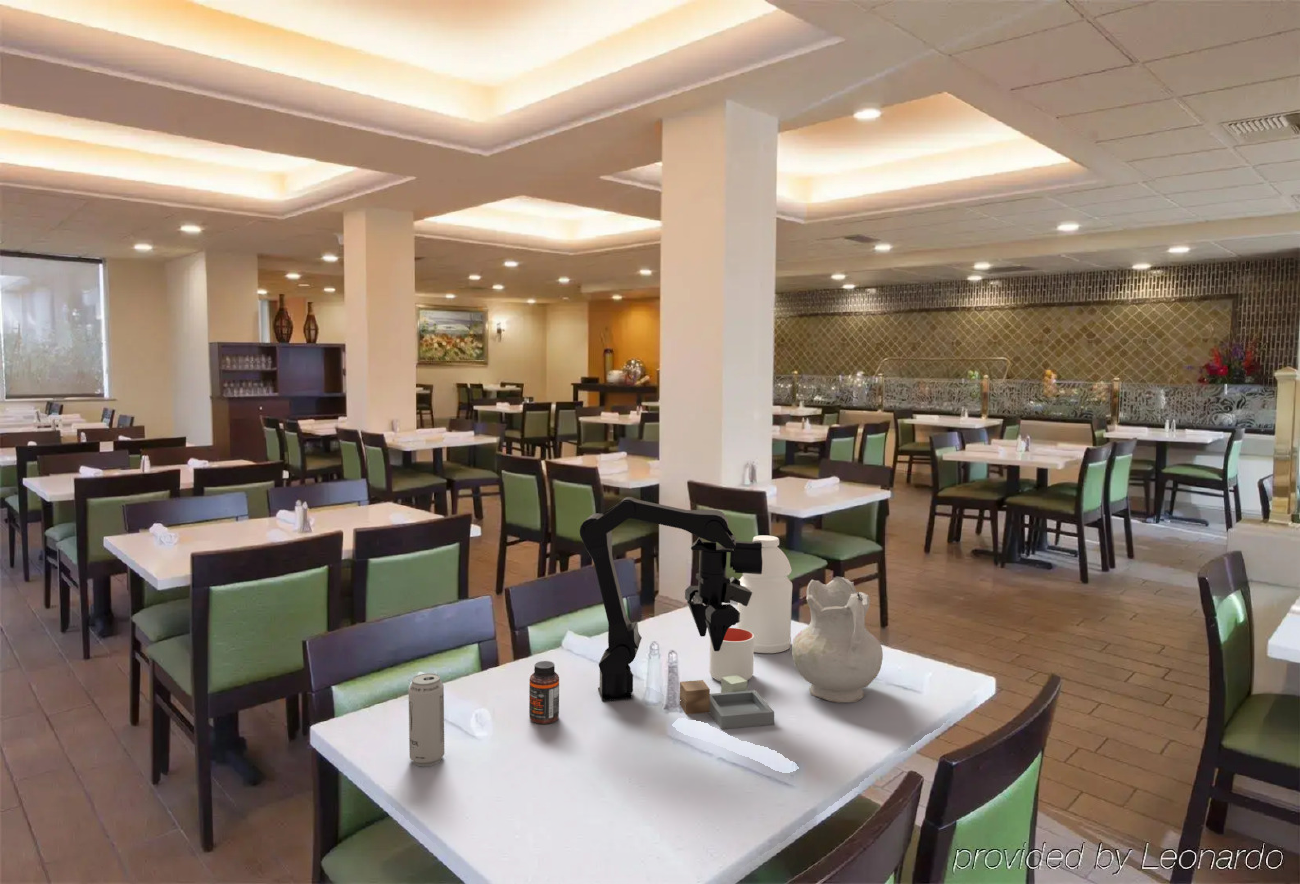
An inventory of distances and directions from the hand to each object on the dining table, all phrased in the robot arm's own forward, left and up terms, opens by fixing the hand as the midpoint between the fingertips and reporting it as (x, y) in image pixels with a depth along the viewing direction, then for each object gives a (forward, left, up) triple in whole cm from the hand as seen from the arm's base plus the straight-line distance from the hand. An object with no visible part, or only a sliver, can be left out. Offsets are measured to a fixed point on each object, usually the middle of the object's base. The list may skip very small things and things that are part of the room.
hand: (709, 643), depth 170 cm
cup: (+9, +11, -13) cm, 19 cm away
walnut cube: (-4, -4, -13) cm, 14 cm away
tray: (+4, -9, -12) cm, 15 cm away
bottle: (+24, +30, -13) cm, 41 cm away
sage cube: (+6, 0, -13) cm, 14 cm away
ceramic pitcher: (+29, -3, -13) cm, 32 cm away
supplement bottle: (-35, -3, -13) cm, 37 cm away
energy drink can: (-57, -16, -13) cm, 60 cm away
